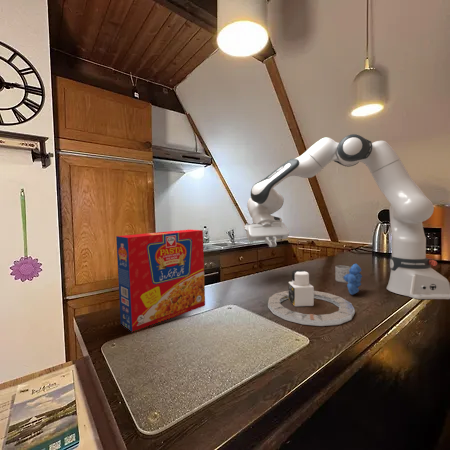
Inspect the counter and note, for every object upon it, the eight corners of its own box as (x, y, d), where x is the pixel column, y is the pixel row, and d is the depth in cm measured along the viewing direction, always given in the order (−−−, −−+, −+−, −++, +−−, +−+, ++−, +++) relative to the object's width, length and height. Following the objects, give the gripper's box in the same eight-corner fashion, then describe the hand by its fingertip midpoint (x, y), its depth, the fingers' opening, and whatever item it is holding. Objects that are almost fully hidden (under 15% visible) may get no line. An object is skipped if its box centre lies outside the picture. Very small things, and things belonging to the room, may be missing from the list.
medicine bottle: (288, 299, 96) (288, 268, 96) (306, 299, 97) (306, 268, 96) (294, 306, 89) (293, 273, 88) (314, 306, 89) (313, 273, 89)
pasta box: (132, 333, 73) (127, 237, 71) (120, 324, 78) (116, 236, 77) (205, 305, 93) (202, 230, 91) (191, 300, 98) (189, 229, 97)
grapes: (347, 287, 109) (347, 260, 108) (365, 291, 104) (365, 262, 103) (338, 295, 100) (338, 265, 99) (356, 298, 95) (357, 267, 95)
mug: (352, 282, 116) (352, 268, 115) (337, 282, 117) (337, 268, 117) (346, 277, 125) (346, 263, 125) (332, 276, 127) (332, 263, 126)
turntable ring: (344, 296, 98) (344, 291, 98) (364, 329, 71) (364, 323, 71) (271, 292, 105) (271, 287, 105) (264, 321, 78) (264, 315, 78)
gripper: (244, 219, 115) (253, 243, 106) (284, 217, 121) (295, 240, 112) (241, 228, 119) (249, 252, 110) (279, 226, 125) (290, 248, 116)
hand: (273, 246), depth 111 cm, fingers closed
